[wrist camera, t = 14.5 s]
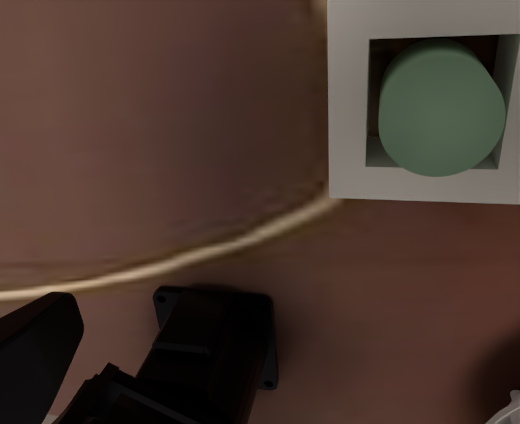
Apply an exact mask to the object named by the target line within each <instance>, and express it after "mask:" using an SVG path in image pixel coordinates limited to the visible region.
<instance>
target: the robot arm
mask: <svg viewBox="0 0 520 424" xmlns="http://www.w3.org/2000/svg"><path fill="white" fill-rule="evenodd" d="M161 296H164V297H165V298H163V297H161ZM153 301H154V306H155V310H156V314H157V319H158V323H159V328H160V331H159V333H158V335H157V336H156V338H155V340H154V342H153V344H152V348H151V350H150V352H149V353H148V355H147V357H146V359H145V360H144V362H143V364H142V366H141V368H140V369H139V371H138V373H137V375H136V376H135V377H133V376H131V375H129V374H127V373H125V372H123V371H121V370H119V367H117V366H115V365H113V364H111V363H108V364H107V365H106V367H105V368H104V369H103V371H102V372H101V373H100V375H98V374H95V375H94V377H93V378H92V379H89V380H85V381H84V383H83V384H82V386H81V387H80V389H79V390H78V392H77V393H76V395H75V396H74V398H73V399H72V401H71V402H70V404H69V405H68V406H67V408H66V409H65V410H64V411H63V412H62V413H61V414H60V415H59V417H58V418H57V419H56V420H55V421H54V422H53V423H52V424H247V423H248V419H249V416H250V412H251V409H252V405H253V402H254V398H255V395H256V391H257V389H264V390H274V389H276V388H277V385H278V380H279V378H278V365H277V353H276V341H275V328H274V316H273V304H272V301H271V300H270V298H268V297H267V296H263V295H253V294H241V293H228V292H216V291H204V290H192V289H180V288H168V287H159V288H158V289H157V290H156V291H155V293H154V295H153ZM259 304H263V305H264V306H266V307H262V306H260V305H259ZM83 332H84V324H83V320H82V317H81V314H80V311H79V308H78V305H77V302H76V299H75V297H74V296H73V295H72V294H70V293H65V292H50V293H48V294H46V295H44V296H42V297H40V298H38V299H36V300H34V301H33V302H31V303H29V304H27V305H25V306H23V307H21V308H19V309H17V310H15V311H13V312H11V313H9V314H7V315H5V316H3V317H1V318H0V424H42V422H43V420H44V419H45V417H46V415H47V413H48V411H49V409H50V408H51V406H52V404H53V401H54V399H55V397H56V395H57V393H58V391H59V389H60V386H61V384H62V382H63V380H64V377H65V375H66V373H67V371H68V368H69V366H70V364H71V362H72V359H73V357H74V355H75V352H76V350H77V348H78V346H79V343H80V341H81V339H82V336H83ZM270 381H271V382H270Z"/></svg>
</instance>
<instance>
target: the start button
mask: <svg viewBox="0 0 520 424" xmlns="http://www.w3.org/2000/svg"><path fill="white" fill-rule="evenodd" d="M505 116H506V113H505V104H504V99H503V97H502V94H501V92H500V90H499V88H498V87H497V85H496V84H495V82H494V81H493V79H492V78H491V76H490V75H489V73H488V72H487V70H486V69H485V67H484V66H483V64H482V63H481V61H480V60H479V58H478V57H477V56H476V55H475V53H474V52H473V51H471V50H470V49H469V48H468V47H466V46H465V45H463V44H461V43H459V42H457V41H454V40H451V39H445V38H432V39H426V40H422V41H419V42H416V43H414V44H412V45H410V46H408V47H406V48H405V49H403V50H402V51H401V52H400V53H399V54H397V55H396V56H395V58H394V59H393V60H392V61H391V62H390V64H389V65H388V67H387V69H386V70H385V72H384V75H383V78H382V81H381V86H380V101H379V120H378V128H379V135H380V139H381V142H382V145H383V147H384V149H385V151H386V152H387V154H388V155H389V156H390V157H391V158H392V160H393V161H394V162H396V163H397V164H398V165H399V166H401V167H402V168H404V169H405V170H408V171H410V172H412V173H415V174H418V175H422V176H428V177H444V176H450V175H454V174H458V173H461V172H463V171H466V170H468V169H470V168H472V167H473V166H475V165H476V164H478V163H480V162H481V161H482V160H483V159H484V158H485V157H486V156H487V155H488V154H489V153H490V152H491V151H492V150H493V148H494V147H495V146H496V144H497V142H498V141H499V139H500V137H501V134H502V132H503V128H504V124H505Z"/></svg>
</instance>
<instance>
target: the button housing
mask: <svg viewBox="0 0 520 424" xmlns="http://www.w3.org/2000/svg"><path fill="white" fill-rule="evenodd" d="M327 27H328V132H329V198H350V199H378V200H406V201H435V202H463V203H492V204H520V0H327ZM472 35H499V39H498V46H497V52H496V59H495V66H494V72H493V81H494V82H495V84H496V85H497V87H498V88H499V90H500V92H501V94H502V97H503V99H504V104H505V113H506V116H505V124H504V128H503V132H502V134H501V137H500V139H499V141H498V142H497V144H496V146H495V147H494V148H493V150H492V151H491V152H490V153H489V154H488V155H487V156H486V157H485V158H484V159H483V160H482V161H481V162H480V163H478V164H476V165H475V166H473V167H472V168H470V169H468V170H466V171H463V172H461V173H458V174H454V175H450V176H444V177H428V176H422V175H418V174H415V173H412V172H410V171H408V170H405V169H404V168H402V167H401V166H399V165H398V164H397V163H396V162H394V161H393V160H392V158H391V157H390V156H389V155H388V154H387V152H386V151H385V149H384V147H383V145H382V142H381V139H380V137H368V126H369V94H370V62H371V39H390V38H417V37H444V36H472Z"/></svg>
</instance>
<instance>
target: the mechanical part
mask: <svg viewBox="0 0 520 424" xmlns="http://www.w3.org/2000/svg"><path fill="white" fill-rule="evenodd" d="M510 396H511V400H512V401H511V403H510V404H509V406H507V407H505V408H503V409H502V410H500V411H499V412H498V413H496V414H495V415H494V416H493V417H492V418H491V419H490V420H489V421H488V422H487V423H485V424H520V391H519V390H512V391H511V392H510Z"/></svg>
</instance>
